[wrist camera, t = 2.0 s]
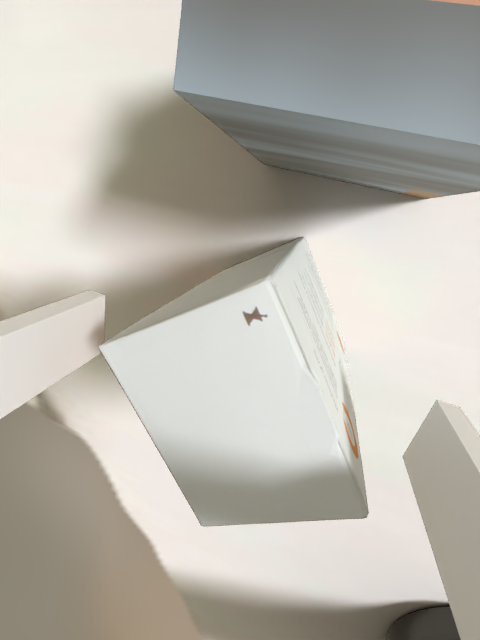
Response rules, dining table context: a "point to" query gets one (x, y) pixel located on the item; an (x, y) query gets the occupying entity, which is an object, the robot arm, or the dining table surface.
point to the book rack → (342, 87)
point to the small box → (249, 394)
